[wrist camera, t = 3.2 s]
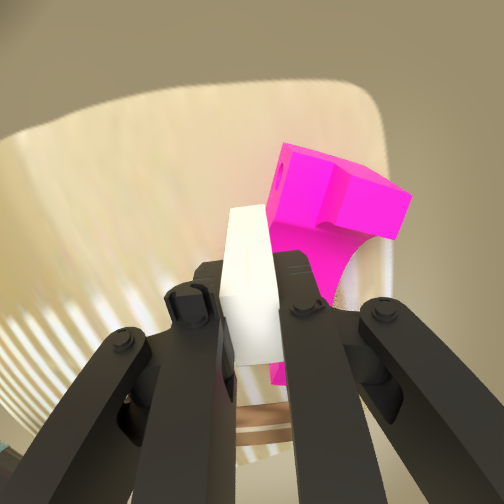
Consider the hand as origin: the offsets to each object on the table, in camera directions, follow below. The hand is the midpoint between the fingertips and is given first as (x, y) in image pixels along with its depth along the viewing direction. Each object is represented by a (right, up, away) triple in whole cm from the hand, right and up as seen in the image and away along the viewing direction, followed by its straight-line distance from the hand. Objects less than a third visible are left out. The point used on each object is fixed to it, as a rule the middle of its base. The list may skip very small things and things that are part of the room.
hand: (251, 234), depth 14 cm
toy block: (+3, 0, +10) cm, 11 cm away
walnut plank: (+3, -21, +20) cm, 29 cm away
